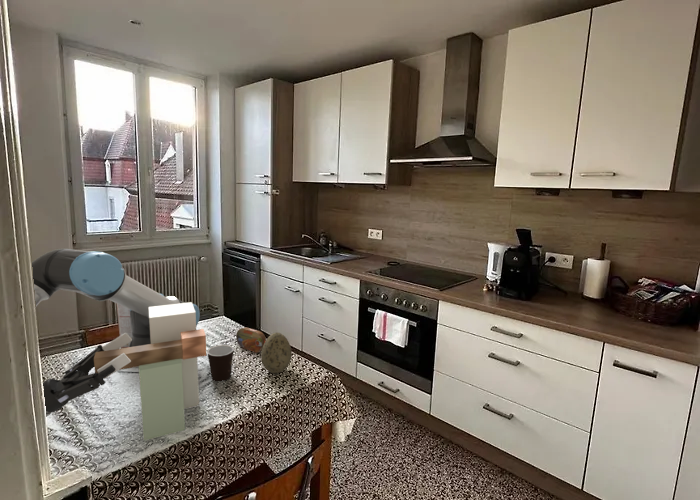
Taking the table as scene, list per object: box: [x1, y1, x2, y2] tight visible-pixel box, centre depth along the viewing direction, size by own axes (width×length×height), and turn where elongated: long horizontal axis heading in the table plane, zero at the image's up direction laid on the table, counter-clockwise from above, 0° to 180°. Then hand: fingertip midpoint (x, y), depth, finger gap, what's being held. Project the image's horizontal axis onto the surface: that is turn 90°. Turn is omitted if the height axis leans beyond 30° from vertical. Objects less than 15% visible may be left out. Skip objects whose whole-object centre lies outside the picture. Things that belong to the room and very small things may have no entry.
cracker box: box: [116, 303, 132, 349], centre depth 157 cm, size 14×6×21 cm, turn 5°
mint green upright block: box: [138, 359, 186, 442], centre depth 104 cm, size 10×9×21 cm
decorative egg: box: [260, 332, 293, 374], centre depth 137 cm, size 11×11×15 cm
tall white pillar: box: [149, 301, 200, 410], centre depth 115 cm, size 12×10×30 cm
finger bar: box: [94, 328, 207, 373], centre depth 101 cm, size 26×5×6 cm, turn 118°
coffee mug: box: [206, 344, 235, 383], centre depth 134 cm, size 12×9×10 cm
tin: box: [235, 327, 267, 354], centre depth 155 cm, size 15×3×8 cm, turn 58°
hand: (128, 346), depth 98 cm, fingers open, 13 cm apart
